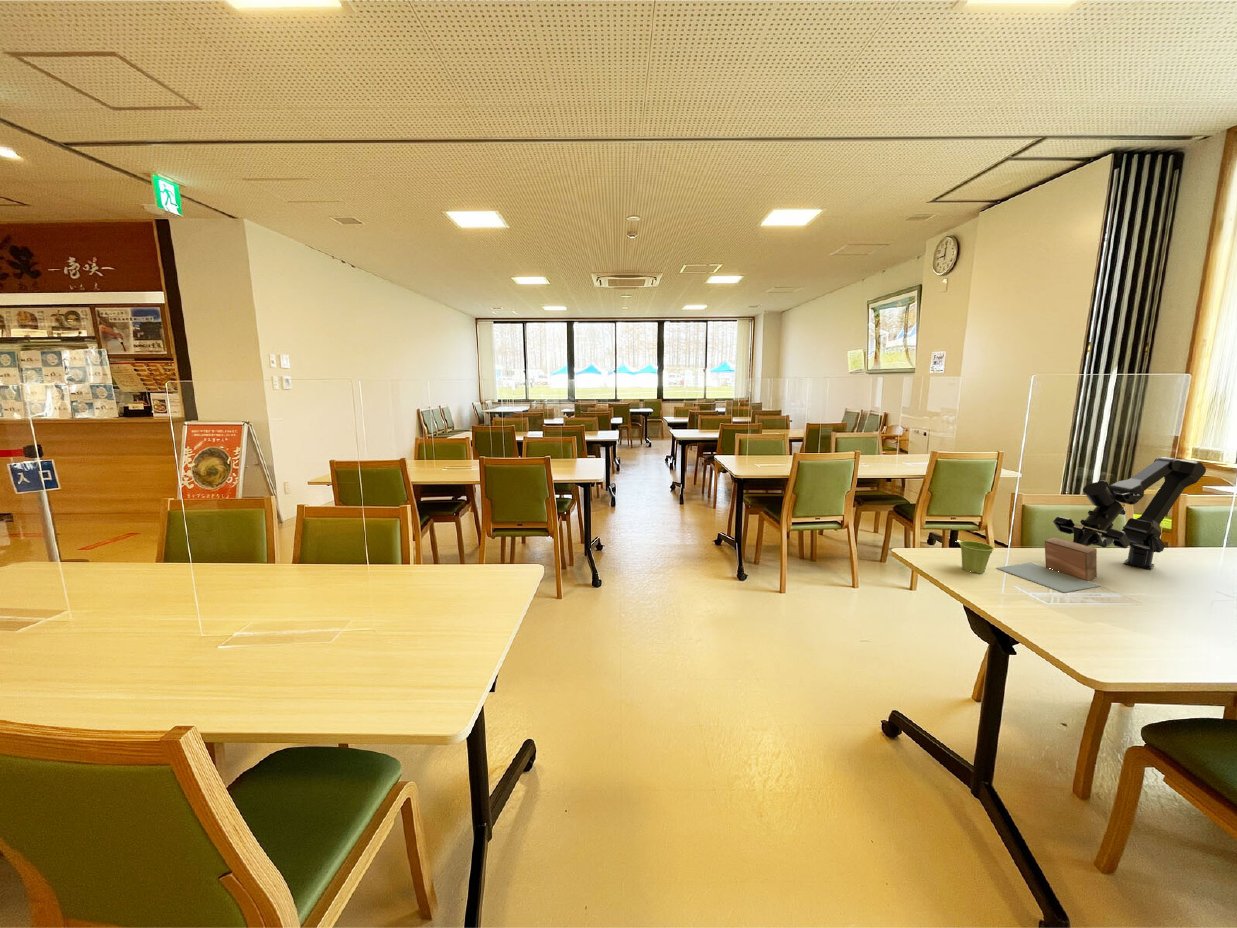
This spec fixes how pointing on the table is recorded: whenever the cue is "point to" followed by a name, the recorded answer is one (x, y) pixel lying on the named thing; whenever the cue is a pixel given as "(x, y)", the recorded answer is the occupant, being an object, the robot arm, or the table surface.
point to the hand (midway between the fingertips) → (1074, 550)
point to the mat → (1048, 577)
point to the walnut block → (1071, 558)
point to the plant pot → (975, 555)
